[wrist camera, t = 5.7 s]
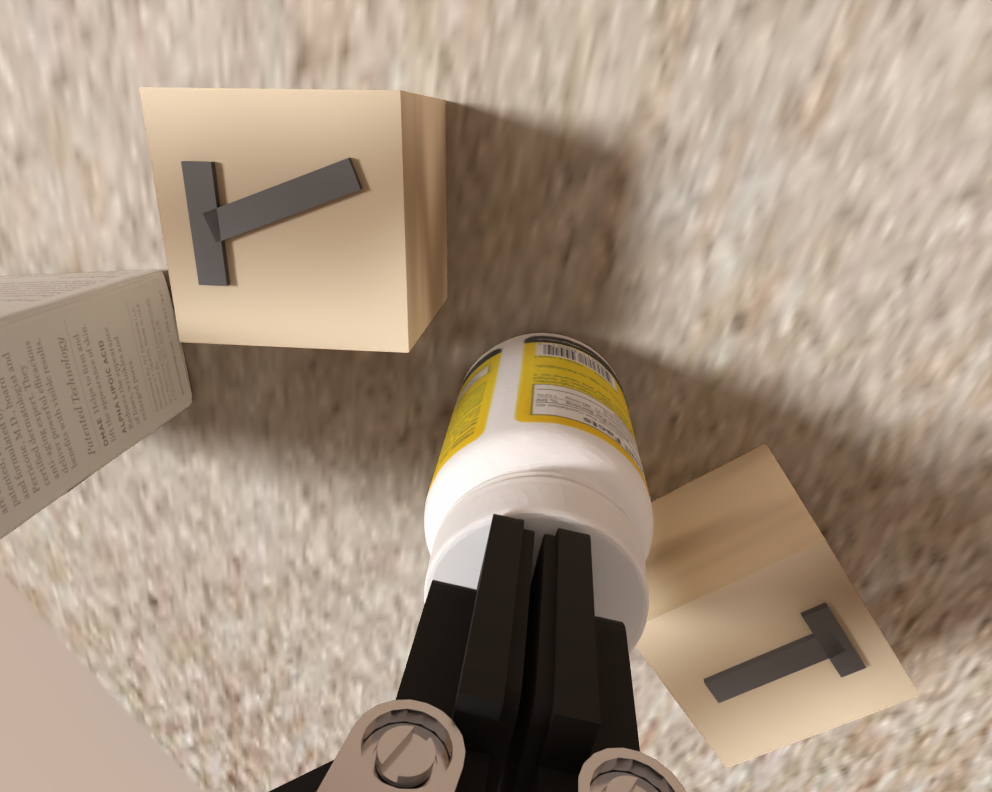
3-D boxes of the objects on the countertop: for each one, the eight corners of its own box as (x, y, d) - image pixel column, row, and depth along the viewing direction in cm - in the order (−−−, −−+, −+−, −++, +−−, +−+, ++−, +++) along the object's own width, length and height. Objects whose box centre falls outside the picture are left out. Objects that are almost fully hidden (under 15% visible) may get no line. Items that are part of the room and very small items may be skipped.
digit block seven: (448, 297, 19) (406, 355, 14) (273, 290, 19) (175, 344, 15) (445, 100, 17) (398, 90, 12) (252, 97, 18) (134, 87, 13)
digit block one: (841, 568, 21) (922, 701, 16) (693, 634, 22) (727, 773, 17) (765, 441, 20) (828, 543, 15) (612, 520, 21) (625, 636, 16)
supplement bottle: (487, 494, 21) (448, 726, 13) (436, 355, 19) (356, 528, 12) (643, 458, 20) (697, 684, 12) (603, 308, 18) (637, 462, 11)
